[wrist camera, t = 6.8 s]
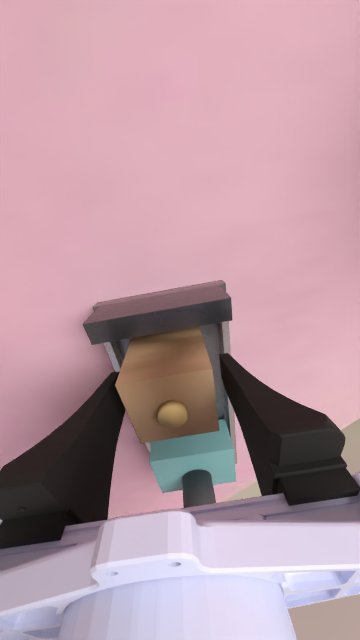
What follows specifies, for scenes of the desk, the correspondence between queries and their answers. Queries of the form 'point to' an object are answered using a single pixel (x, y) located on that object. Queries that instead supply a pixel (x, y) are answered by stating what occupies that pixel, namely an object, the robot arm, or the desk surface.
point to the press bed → (169, 328)
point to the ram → (194, 464)
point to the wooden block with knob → (168, 386)
